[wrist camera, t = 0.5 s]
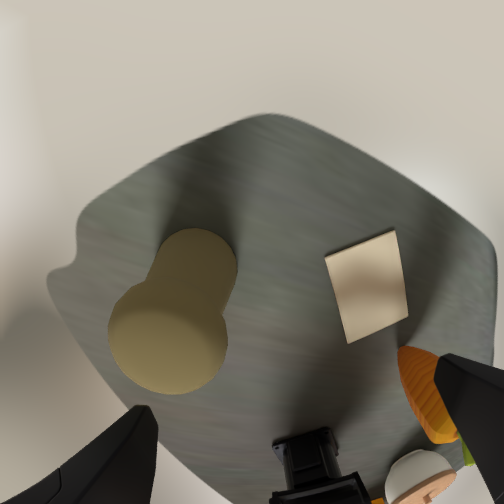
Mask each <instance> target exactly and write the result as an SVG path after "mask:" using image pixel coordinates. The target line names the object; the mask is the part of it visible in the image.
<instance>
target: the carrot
mask: <svg viewBox="0 0 504 504" xmlns="http://www.w3.org/2000/svg"><path fill="white" fill-rule="evenodd" d="M397 354H398V366H399V372H400V378H401V382H402V385H403V388H404V391H405V393H406V396H407V398H408V401H409V403H410V406H411V408H412V410H413V411H414V413H415V415H416V417H417V419H418V420H419V422H420V424H421V426H422V427H423V429H424V431H425V432H426V434H427V436H428V437H429V439H430V440H431V441H432V442H433V443H435V444H442V443H449V442H453V441H455V440H457V439H458V438H459V439H460V440H461V442H462V450H463V457H464V463H465V466H472V465H473V464H476V463H475V461H474V459H473V457H472V456H471V454H470V452H469V450H468V448H467V446H466V444H465V443H464V441H463V439H462V437H461V435H460V434H459V432H458V430H457V428H456V427H455V425H454V423H453V421H452V420H451V418H450V416H449V414H448V412H447V409H446V407H445V405H444V403H443V400H442V398H441V396H440V394H439V392H438V390H437V388H436V385H435V383H434V379H433V378H434V372H435V369H436V365H437V361H438V359H439V357H438V356H436V355H434V354H433V353H431V352H428V351H425V350H422V349H419V348H415V347H410V346H402V347H400V348H399V350H398V352H397Z"/></svg>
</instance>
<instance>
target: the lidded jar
mask: <svg viewBox="0 0 504 504" xmlns="http://www.w3.org/2000/svg"><path fill="white" fill-rule="evenodd" d="M455 478H456V472H455V470H453V469H452V467H451V465H450V464H449V463H448V461H447V460H446V459H445V458H444V457H443V456H441V455H440V454H438V453H436V452H433V451H424V450H423V449H419V450H415V451H412V452H410V453H408V454H406V455H405V456H403V457H401V458H400V459H399V460H397V461H396V462H395V463H394V464H393V465H392V466H391V468H390V472H389V474H388V476H387V479H386V482H385V494H386V498H387V501H388V504H424V503H425V504H429V503H431V502H432V500H431V499H432V498H434V497H435V496H437V495H438V494H440V493H441V492H442V491H444V490H445V489H446V488H447V487H448V486H449V485H450V484H451V483H452V482H453V481H454V480H455Z"/></svg>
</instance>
